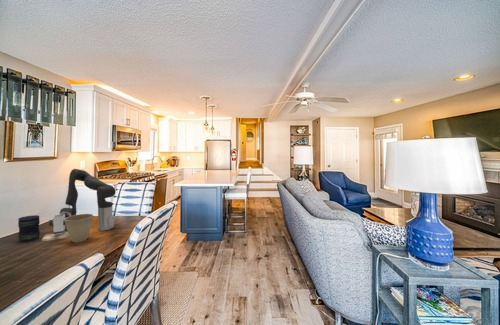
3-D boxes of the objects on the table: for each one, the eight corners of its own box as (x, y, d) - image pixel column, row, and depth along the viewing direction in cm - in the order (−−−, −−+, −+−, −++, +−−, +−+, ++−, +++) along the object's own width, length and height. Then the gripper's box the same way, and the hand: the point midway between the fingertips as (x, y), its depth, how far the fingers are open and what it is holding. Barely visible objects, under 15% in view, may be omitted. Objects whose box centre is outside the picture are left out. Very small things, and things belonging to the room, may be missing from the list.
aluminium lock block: (65, 230, 150) (65, 213, 149) (63, 233, 145) (63, 216, 144) (55, 232, 147) (55, 214, 146) (53, 235, 142) (53, 217, 141)
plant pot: (75, 236, 147) (75, 213, 146) (98, 235, 148) (98, 213, 148) (58, 245, 132) (58, 220, 132) (83, 245, 133) (83, 220, 133)
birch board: (75, 232, 154) (75, 230, 154) (73, 236, 146) (73, 234, 146) (46, 236, 146) (46, 234, 146) (41, 241, 137) (41, 239, 137)
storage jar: (24, 237, 143) (23, 216, 143) (43, 235, 147) (42, 214, 146) (14, 243, 134) (14, 220, 133) (34, 241, 137) (34, 218, 137)
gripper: (50, 214, 154) (44, 220, 139) (76, 211, 161) (72, 217, 147) (51, 224, 154) (44, 231, 140) (76, 221, 162) (72, 228, 147)
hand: (58, 224), depth 143 cm, fingers closed on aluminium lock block, 5 cm apart
